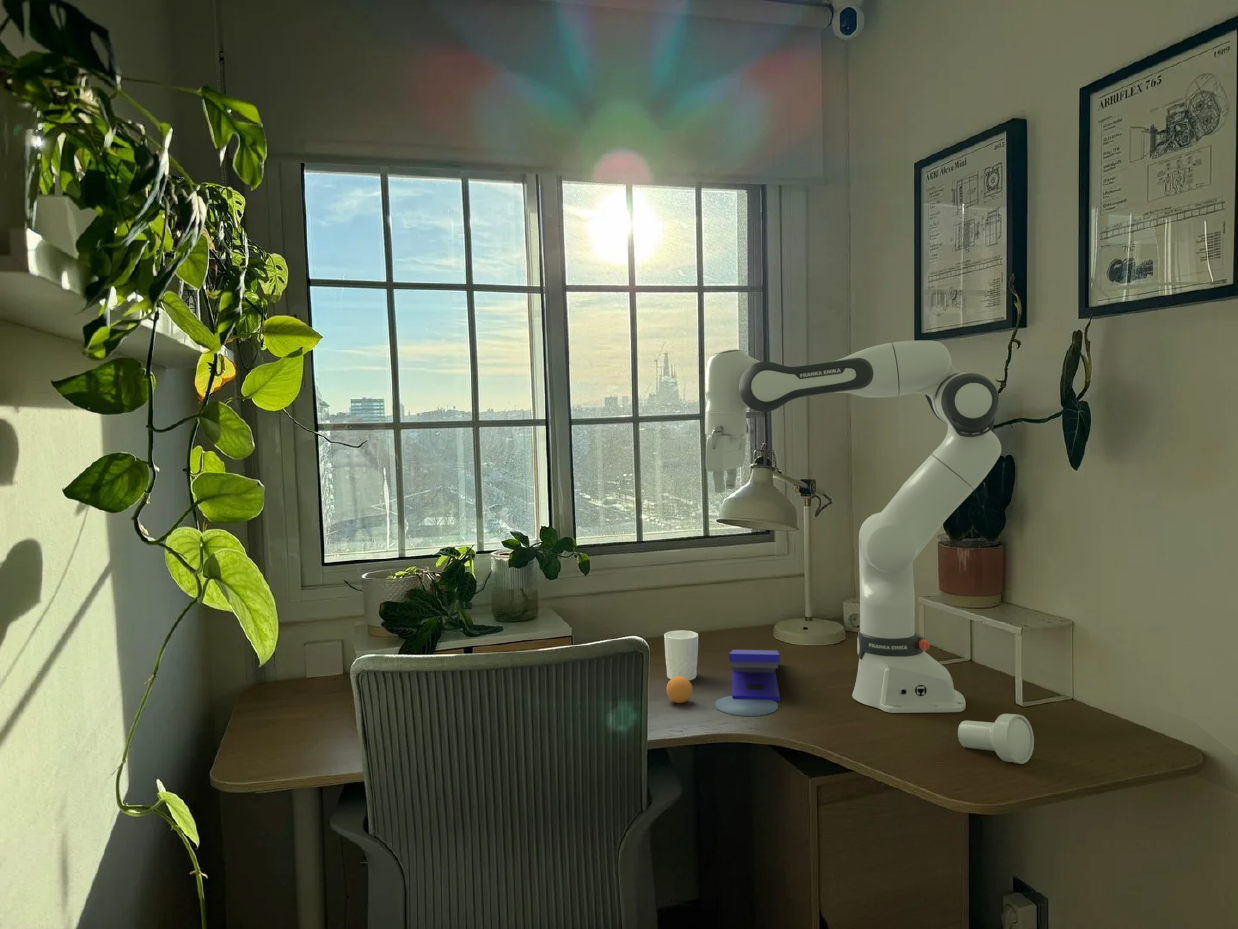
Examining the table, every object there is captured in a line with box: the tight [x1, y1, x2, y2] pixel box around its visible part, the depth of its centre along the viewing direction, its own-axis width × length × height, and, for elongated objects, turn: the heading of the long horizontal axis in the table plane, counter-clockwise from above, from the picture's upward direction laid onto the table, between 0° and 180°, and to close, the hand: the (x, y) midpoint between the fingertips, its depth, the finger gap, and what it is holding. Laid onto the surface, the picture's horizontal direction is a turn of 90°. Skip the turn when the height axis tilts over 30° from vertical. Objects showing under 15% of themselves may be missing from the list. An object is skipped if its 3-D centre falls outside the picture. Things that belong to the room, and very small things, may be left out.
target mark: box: [714, 695, 779, 717], centre depth 181 cm, size 13×13×1 cm
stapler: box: [728, 649, 781, 702], centre depth 198 cm, size 12×28×10 cm, turn 173°
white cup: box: [663, 630, 699, 681], centre depth 202 cm, size 8×8×10 cm
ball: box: [665, 676, 694, 704], centre depth 184 cm, size 6×6×6 cm
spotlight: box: [957, 713, 1035, 765], centre depth 153 cm, size 8×11×8 cm
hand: (725, 490), depth 187 cm, fingers open, 8 cm apart
